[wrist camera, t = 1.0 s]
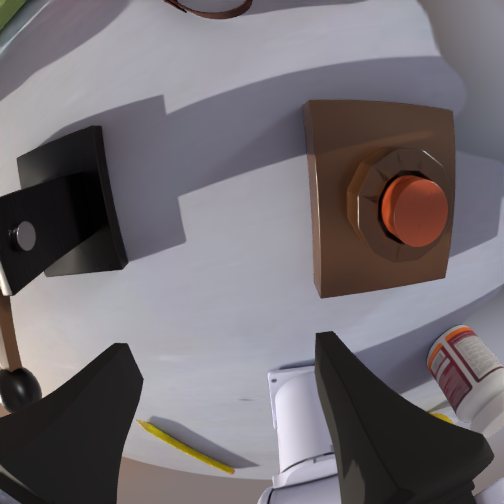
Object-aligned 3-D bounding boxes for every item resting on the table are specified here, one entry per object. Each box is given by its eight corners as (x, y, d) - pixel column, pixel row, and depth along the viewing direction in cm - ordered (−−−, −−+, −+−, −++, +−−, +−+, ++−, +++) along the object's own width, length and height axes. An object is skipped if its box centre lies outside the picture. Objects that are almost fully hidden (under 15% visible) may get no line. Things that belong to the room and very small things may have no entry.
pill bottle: (435, 375, 24) (476, 449, 14) (416, 354, 23) (466, 441, 12) (474, 339, 23) (526, 405, 12) (461, 311, 21) (526, 387, 11)
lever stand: (129, 263, 19) (57, 348, 10) (53, 271, 20) (-19, 336, 10) (101, 125, 16) (-6, 128, 6) (25, 156, 16) (-68, 181, 7)
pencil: (235, 473, 30) (229, 475, 30) (234, 468, 31) (229, 469, 31) (137, 421, 25) (132, 423, 25) (139, 414, 26) (134, 417, 26)
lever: (57, 411, 11) (26, 431, 8) (27, 401, 11) (-4, 417, 8) (29, 216, 12) (-9, 207, 9) (2, 225, 12) (-33, 219, 9)
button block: (431, 266, 19) (458, 289, 16) (314, 283, 20) (326, 314, 16) (434, 111, 15) (469, 109, 11) (301, 105, 15) (315, 94, 12)
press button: (429, 234, 15) (445, 244, 13) (379, 239, 15) (392, 251, 13) (432, 174, 13) (450, 179, 12) (379, 175, 13) (394, 180, 12)
